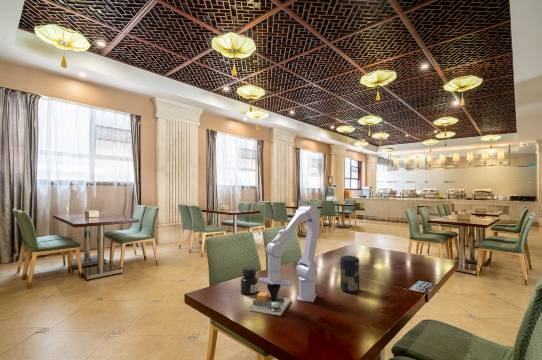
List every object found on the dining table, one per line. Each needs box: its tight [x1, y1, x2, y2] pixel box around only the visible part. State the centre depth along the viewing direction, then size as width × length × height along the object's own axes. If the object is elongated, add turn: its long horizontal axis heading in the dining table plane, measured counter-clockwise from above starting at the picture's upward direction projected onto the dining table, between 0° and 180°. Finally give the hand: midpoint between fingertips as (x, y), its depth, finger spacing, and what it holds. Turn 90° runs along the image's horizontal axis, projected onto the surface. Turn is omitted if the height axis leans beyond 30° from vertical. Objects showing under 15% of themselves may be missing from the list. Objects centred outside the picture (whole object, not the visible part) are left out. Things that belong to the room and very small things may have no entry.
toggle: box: [256, 291, 269, 302], centre depth 120 cm, size 4×4×3 cm
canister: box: [339, 254, 360, 294], centre depth 139 cm, size 10×10×18 cm
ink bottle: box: [240, 266, 259, 296], centre depth 136 cm, size 10×9×12 cm
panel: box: [249, 295, 292, 317], centre depth 119 cm, size 16×14×3 cm
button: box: [271, 302, 279, 308], centre depth 112 cm, size 3×3×1 cm
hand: (274, 301), depth 118 cm, fingers closed
